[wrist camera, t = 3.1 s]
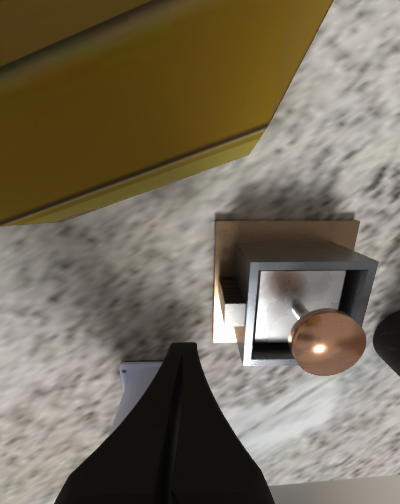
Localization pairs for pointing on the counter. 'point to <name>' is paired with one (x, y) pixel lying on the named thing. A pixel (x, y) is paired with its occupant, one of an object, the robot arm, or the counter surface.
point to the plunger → (308, 319)
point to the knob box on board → (281, 258)
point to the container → (135, 94)
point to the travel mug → (389, 341)
